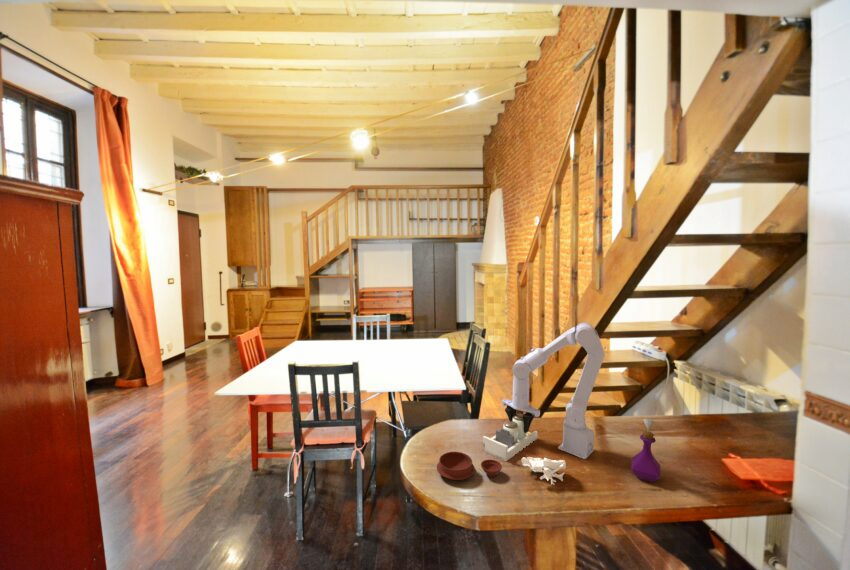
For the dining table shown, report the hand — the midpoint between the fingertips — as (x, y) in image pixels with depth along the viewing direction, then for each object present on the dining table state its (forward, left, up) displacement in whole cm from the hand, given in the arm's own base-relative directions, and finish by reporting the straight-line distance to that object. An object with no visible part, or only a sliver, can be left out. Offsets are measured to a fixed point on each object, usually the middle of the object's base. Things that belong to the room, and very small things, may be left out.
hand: (519, 429), depth 134 cm
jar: (0, 0, -2) cm, 2 cm away
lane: (0, +6, -4) cm, 7 cm away
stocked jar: (0, +6, -3) cm, 7 cm away
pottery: (0, +30, -4) cm, 30 cm away
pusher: (0, +10, -2) cm, 10 cm away
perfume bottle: (-39, -7, -4) cm, 40 cm away
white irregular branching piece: (-17, +15, -4) cm, 23 cm away
